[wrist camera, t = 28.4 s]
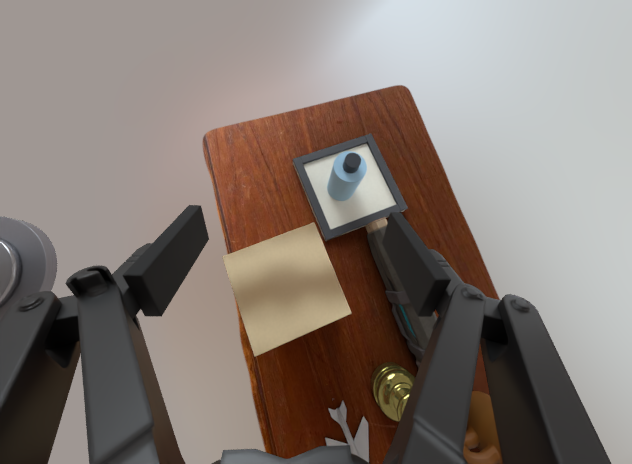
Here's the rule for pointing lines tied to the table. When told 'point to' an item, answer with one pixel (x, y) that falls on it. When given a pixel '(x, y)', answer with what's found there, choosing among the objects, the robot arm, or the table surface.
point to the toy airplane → (361, 439)
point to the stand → (285, 288)
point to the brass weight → (391, 389)
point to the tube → (399, 295)
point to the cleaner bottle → (346, 175)
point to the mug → (481, 432)
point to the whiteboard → (366, 202)
